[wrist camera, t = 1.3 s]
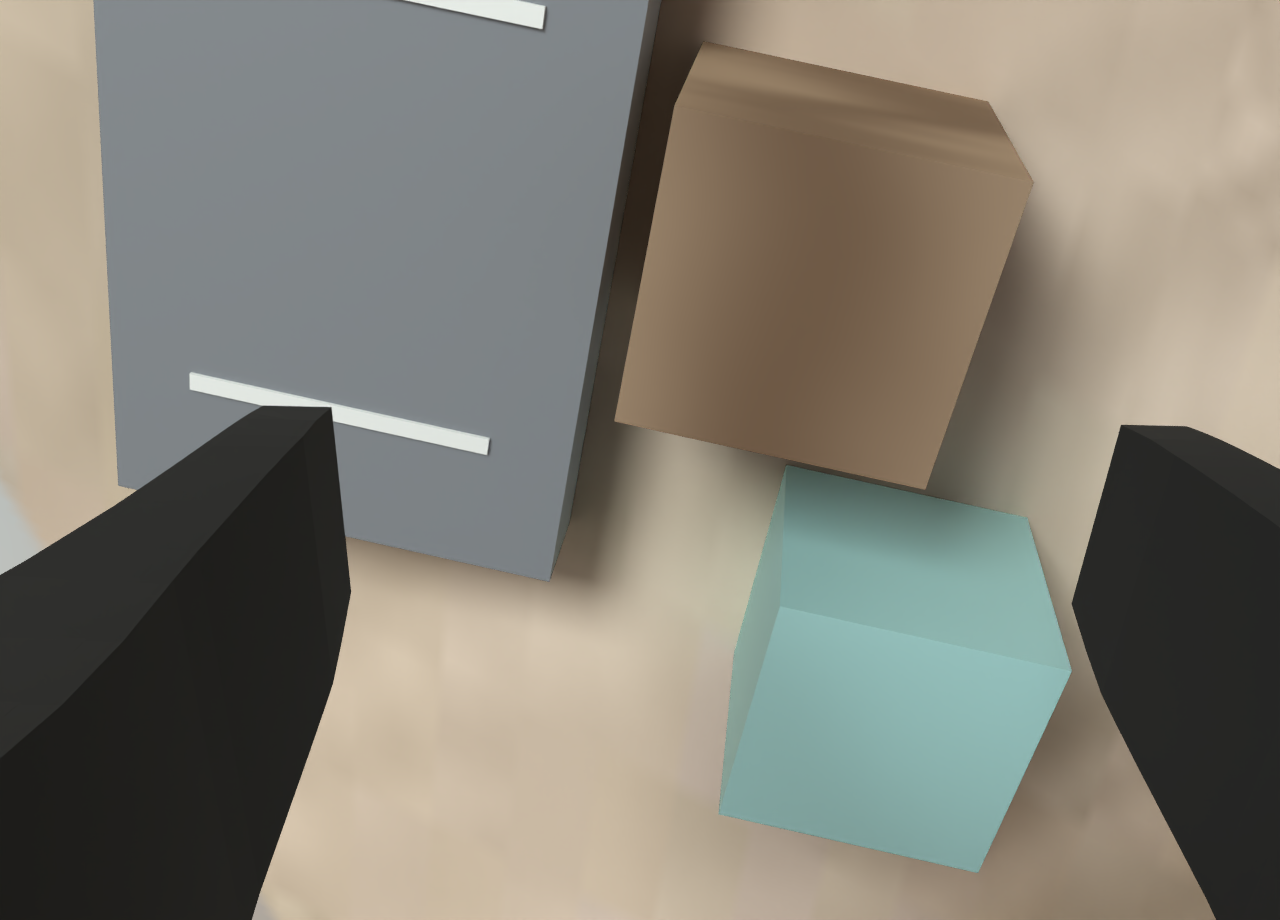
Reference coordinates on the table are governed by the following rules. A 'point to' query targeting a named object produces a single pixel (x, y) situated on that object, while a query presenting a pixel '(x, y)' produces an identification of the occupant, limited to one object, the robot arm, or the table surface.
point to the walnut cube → (819, 264)
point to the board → (373, 243)
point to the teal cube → (890, 670)
